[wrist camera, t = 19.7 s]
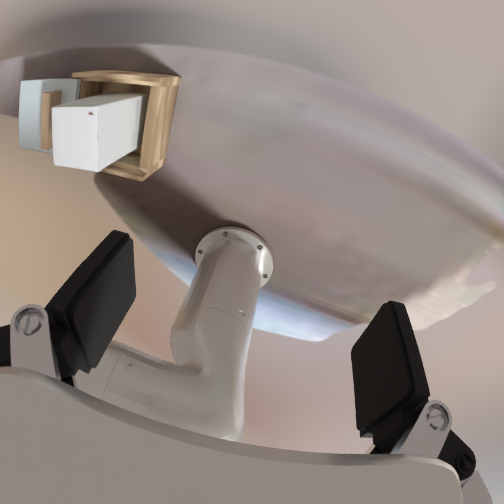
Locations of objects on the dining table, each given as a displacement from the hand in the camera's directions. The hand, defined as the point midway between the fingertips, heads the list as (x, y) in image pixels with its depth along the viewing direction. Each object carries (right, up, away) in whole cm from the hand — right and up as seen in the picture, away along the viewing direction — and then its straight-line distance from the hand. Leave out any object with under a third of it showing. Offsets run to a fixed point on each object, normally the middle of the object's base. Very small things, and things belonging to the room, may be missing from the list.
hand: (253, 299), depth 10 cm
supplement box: (-17, +21, +24) cm, 36 cm away
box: (-17, +21, +25) cm, 37 cm away
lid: (-29, +21, +19) cm, 41 cm away
